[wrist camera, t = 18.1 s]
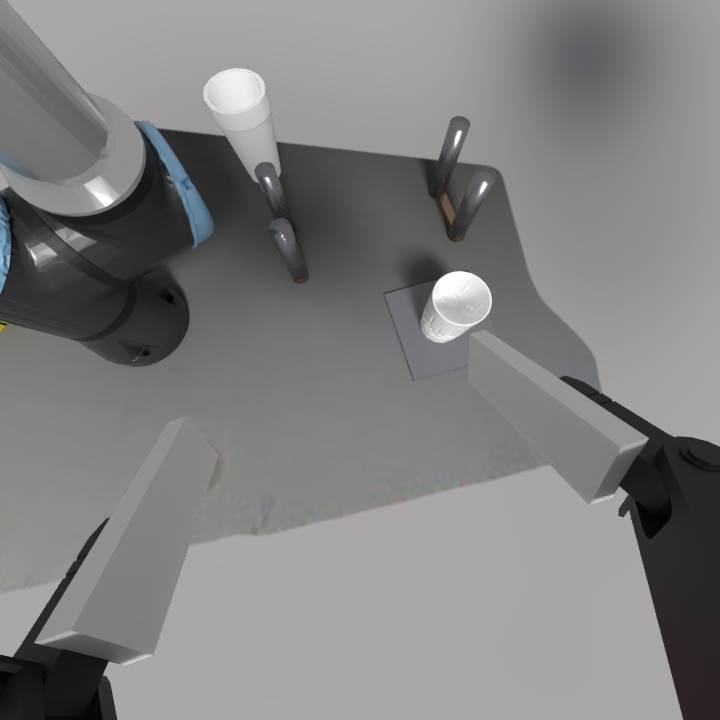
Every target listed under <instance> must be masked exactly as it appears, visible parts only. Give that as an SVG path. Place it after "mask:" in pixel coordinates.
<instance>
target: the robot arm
mask: <svg viewBox="0 0 720 720" xmlns="http://www.w3.org/2000/svg"><path fill="white" fill-rule="evenodd" d="M0 170H1V172H2V174H3V176H4V178H5V180H6V181H7V183H8V184H9V187H8V188H5V189H4V190H1V191H0V321H2V322H6V323H10V324H14V325H18V326H22V327H25V328H29V329H33V330H37V331H41V332H45V333H49V334H52V335H56V336H60V337H64V338H68V339H72V340H75V341H78V342H79V343H81V344H82V345H84V346H85V347H87V348H88V349H90V350H92V351H93V352H95V353H96V354H98V355H99V356H101V357H102V358H104V359H106V360H108V361H111V362H114V363H117V364H122V365H126V366H132V367H140V366H147V365H150V364H153V363H156V362H158V361H160V360H162V359H164V358H165V357H167V356H168V355H169V354H171V353H172V352H173V351H174V350H175V349H176V348H177V347H178V345H179V344H180V343H181V341H182V340H183V338H184V336H185V333H186V331H187V327H188V322H189V314H188V308H187V305H186V303H185V301H184V300H183V298H182V297H181V296H180V295H179V294H178V293H177V292H176V291H175V290H173V289H172V288H170V287H169V286H167V285H166V284H164V283H162V282H160V281H157V280H154V279H151V278H147V277H143V276H144V275H146V274H148V273H150V272H152V271H153V270H155V269H157V268H159V267H161V266H162V265H164V264H166V263H168V262H170V261H171V260H173V259H175V258H177V257H179V256H180V255H182V254H184V253H186V252H188V251H189V250H191V249H195V248H196V247H197V245H198V244H199V243H200V242H202V241H203V240H205V239H206V238H208V237H209V236H211V235H212V233H213V230H214V223H213V220H212V217H211V215H210V213H209V211H208V209H207V207H206V205H205V203H204V202H203V200H202V198H201V196H200V195H199V193H198V191H197V190H196V188H195V186H194V185H193V184H192V183H191V181H190V178H189V177H188V175H187V174H186V172H185V170H184V168H183V166H182V165H181V163H180V162H179V160H178V159H177V157H176V156H175V154H174V152H173V151H172V149H171V148H170V147H169V145H168V144H167V142H166V141H165V139H164V138H163V137H162V135H161V134H160V133H159V131H158V130H157V129H156V128H155V126H154V125H152V124H151V123H150V122H148V121H141V122H139V121H134V122H133V121H132V120H131V119H130V118H129V116H128V115H127V114H125V113H124V112H123V111H122V110H121V109H120V108H118V107H117V106H116V105H115V104H113V103H111V102H110V101H108V100H106V99H104V98H101V97H99V96H96V95H93V94H90V93H86V92H85V91H84V90H83V88H82V87H81V86H80V85H79V84H78V83H77V82H76V80H75V79H74V78H73V77H72V76H71V75H70V73H69V72H68V71H67V70H66V69H65V68H64V66H63V65H62V64H61V63H60V62H59V61H58V59H57V58H56V57H55V56H54V55H53V54H52V53H51V51H50V50H49V49H48V48H47V47H46V45H45V44H44V43H43V42H42V41H41V40H40V39H39V38H38V36H37V35H36V34H35V33H34V32H33V30H32V29H31V28H30V27H29V26H28V25H27V23H26V22H25V21H24V20H23V19H22V18H21V16H20V15H19V14H18V13H17V12H16V11H15V10H14V8H13V7H12V6H11V5H10V4H9V3H8V2H7V0H0ZM468 381H469V382H470V383H471V384H472V385H473V386H474V387H475V388H476V389H477V390H478V391H479V392H480V393H481V394H482V395H483V396H484V397H485V398H486V399H487V400H488V401H489V402H490V403H491V404H492V405H493V406H494V407H495V408H496V409H497V410H498V411H499V413H500V414H501V415H502V416H503V417H504V418H505V419H506V420H507V421H508V422H509V423H510V424H511V425H512V426H513V427H514V428H515V429H516V430H517V431H518V432H519V433H520V434H521V435H522V436H523V437H524V438H525V439H526V440H527V441H528V442H529V443H530V444H531V445H532V446H533V447H534V449H535V450H536V451H537V452H538V453H539V454H540V455H541V456H542V457H543V458H544V459H545V460H546V461H547V462H548V463H549V464H550V465H551V466H552V467H553V468H554V469H555V470H556V471H557V472H558V473H559V474H560V475H561V476H562V477H563V478H564V479H565V480H566V481H567V482H568V484H570V486H571V487H572V488H573V489H574V490H575V491H576V492H577V493H578V494H579V495H580V496H581V497H582V498H583V499H584V500H585V501H586V502H587V503H588V504H589V505H591V504H594V503H597V502H600V501H603V500H605V499H609V498H611V497H613V495H614V493H615V492H616V490H617V489H618V487H619V486H620V487H621V488H622V489H623V490H625V491H626V492H627V493H628V494H629V495H628V496H627V498H626V499H625V501H624V502H623V504H622V505H621V507H620V508H619V516H621V517H624V516H625V514H626V513H627V512H628V510H629V511H630V515H631V520H632V523H633V526H634V530H635V534H636V538H637V542H638V546H639V550H640V554H641V558H642V562H643V565H644V569H645V573H646V577H647V581H648V584H649V589H650V593H651V596H652V600H653V604H654V608H655V612H656V616H657V620H658V624H659V627H660V631H661V635H662V639H663V643H664V647H665V650H666V654H667V658H668V662H669V666H670V670H671V674H672V677H673V682H674V685H675V689H676V693H677V697H678V701H679V704H680V709H681V713H682V717H683V720H720V447H719V446H717V445H714V444H712V443H710V442H708V441H704V440H700V439H696V438H692V437H679V436H678V437H673V436H671V435H669V434H667V433H665V432H664V431H662V430H660V429H659V428H657V427H656V426H654V425H652V424H651V423H649V422H648V421H646V420H644V419H643V418H641V417H639V416H638V415H636V414H635V413H633V412H631V411H630V410H628V409H626V408H625V407H623V406H621V405H620V404H618V403H617V402H613V401H612V399H610V398H609V397H607V396H605V395H604V394H600V393H599V391H597V390H596V389H594V388H592V387H591V386H589V385H588V384H586V383H584V382H582V381H579V380H576V379H574V378H571V377H568V376H563V377H560V378H557V377H556V376H554V375H553V374H551V373H550V372H548V371H547V370H545V369H544V368H542V367H541V366H539V365H538V364H536V363H535V362H533V361H532V360H530V359H529V358H527V357H526V356H524V355H523V354H521V353H520V352H518V351H516V350H515V349H513V348H512V347H510V346H509V345H507V344H506V343H504V342H503V341H501V340H500V339H498V338H497V337H495V336H494V335H492V334H491V333H489V332H488V331H486V330H482V331H478V332H475V333H471V334H470V335H469V366H468ZM217 459H218V455H217V453H216V452H215V451H214V450H213V449H212V447H211V446H210V445H209V444H208V442H207V441H206V440H205V439H204V437H203V436H202V435H201V434H200V433H199V431H198V430H197V429H196V428H195V426H194V425H193V424H192V423H191V422H190V420H189V419H188V418H187V417H183V418H180V419H176V420H173V421H169V422H168V424H167V425H166V427H165V429H164V430H163V432H162V433H161V435H160V437H159V438H158V440H157V442H156V443H155V445H154V447H153V448H152V450H151V451H150V453H149V455H148V456H147V458H146V460H145V461H144V463H143V465H142V466H141V468H140V470H139V471H138V473H137V474H136V476H135V478H134V479H133V481H132V483H131V484H130V486H129V488H128V489H127V491H126V493H125V494H124V496H123V497H122V499H121V501H120V502H119V504H118V506H117V507H116V509H115V511H114V512H113V514H112V516H111V517H110V518H107V519H106V520H105V521H104V522H103V523H102V524H101V525H100V526H99V527H98V528H97V530H96V531H95V532H94V533H93V534H92V535H91V536H90V537H89V539H88V540H87V542H86V544H85V545H84V547H83V548H82V550H81V551H80V553H79V555H78V556H77V560H76V561H74V562H73V564H72V566H71V567H70V569H69V570H68V572H67V573H66V578H65V579H63V580H62V581H61V583H60V584H59V586H58V588H57V589H56V591H55V592H54V594H53V595H52V597H51V599H50V600H49V602H48V603H47V605H46V606H45V608H44V610H43V611H42V613H41V614H40V616H39V618H38V619H37V621H36V622H35V624H34V625H33V627H32V628H31V630H30V632H29V633H28V635H27V636H26V638H25V640H24V641H23V643H22V644H21V646H20V648H19V649H18V650H17V652H16V653H15V655H14V656H13V657H9V656H4V655H0V720H117V716H116V711H115V705H114V700H113V695H112V689H111V684H110V682H109V680H108V678H107V677H106V676H103V673H104V671H105V669H106V666H107V664H108V662H113V663H117V664H121V665H127V664H130V663H133V662H136V661H139V660H141V659H144V658H147V657H150V656H153V655H154V652H155V649H156V646H157V643H158V640H159V636H160V633H161V630H162V627H163V624H164V621H165V618H166V615H167V612H168V609H169V606H170V603H171V600H172V596H173V594H174V590H175V587H176V584H177V581H178V578H179V575H180V572H181V569H182V566H183V562H184V560H185V557H186V553H187V550H188V548H189V544H190V541H191V538H192V535H193V532H194V529H195V526H196V523H197V520H198V517H199V514H200V511H201V508H202V505H203V502H204V498H205V495H206V492H207V489H208V486H209V483H210V480H211V477H212V474H213V471H214V468H215V465H216V462H217Z"/></svg>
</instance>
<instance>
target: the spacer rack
mask: <svg viewBox="0 0 720 720" xmlns="http://www.w3.org/2000/svg"><path fill="white" fill-rule="evenodd" d="M469 127H470V122H469V120H468V119H467V118H465V117H461V116H457V117H454V118H453V119H452V120H451V121H450V124H449V127H448V131H447V134H446V138H445V141H444V144H443V147H442V151H441V154H440V157H439V161H438V164H437V167H436V171H435V174H434V177H433V180H432V184H431V187H430V190H429V194H430V196H431V197H433V198H435V199H436V201H437V204H438V206H439V208H440V210H441V213H442V215H443V217H444V220H445V222H446V224H447V227H448V229H449V230H448V233H447V235H448V238H449V239H450V240H452V241H454V242H457V241H461V240H463V238H464V236H465V233H466V231H467V229H468V228H469V226H470V224H471V222H472V221H473V219H474V217H475V215H476V214H477V212H478V210H479V208H480V206H481V205H482V203H483V201H484V199H485V198H486V196H487V194H488V192H489V191H490V189H491V187H492V185H493V184H494V182H495V180H496V173H495V171H494V170H492V169H491V168H488V167H481V168H479V169H478V170H477V171H476V173H475V175H474V177H473V179H472V181H471V183H470V186H469V188H468V190H467V192H466V194H465V196H464V198H463V201H462V203H461V205H460V207H459V209H458V211H457V213H456V215H455V213H454V210H453V208H452V206H451V204H450V201H449V199H448V197H447V195H446V192H445V191H446V189H447V186H448V183H449V180H450V178H451V175H452V172H453V170H454V167H455V164H456V162H457V159H458V156H459V154H460V151H461V148H462V145H463V143H464V140H465V137H466V135H467V132H468V130H469ZM254 172H255V175H256V177H257V180H258V182H259V184H260V187H261V189H262V191H263V194H264V196H265V198H266V200H267V203H268V205H269V207H270V210H271V212H272V214H273V217H274V219H275V220H273V221H272V222H271V223H270V225H269V232H270V234H271V236H272V238H273V240H274V242H275V244H276V246H277V248H278V250H279V252H280V254H281V256H282V258H283V260H284V262H285V264H286V266H287V268H288V270H289V272H290V274H291V276H292V278H293V280H294V281H295V282H296V283H298V284H300V283H304V282H307V279H308V277H309V274H308V271H307V268H306V266H305V263H304V260H303V257H302V254H301V252H300V249H299V246H298V243H297V241H296V238H295V235H294V234H295V232H296V228H295V225H294V222H293V219H292V216H291V213H290V210H289V207H288V204H287V201H286V198H285V195H284V193H283V190H282V187H281V184H280V181H279V178H278V175H277V172H276V169H275V167H274V165H273V164H272V163H270V162H262V163H259V164H258V165H257V166H256V167H255V170H254Z"/></svg>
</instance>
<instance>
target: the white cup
mask: <svg viewBox="0 0 720 720" xmlns="http://www.w3.org/2000/svg"><path fill="white" fill-rule="evenodd" d="M491 304H492V298H491V293H490V290H489V288H488V287H487V285H486V284H485V283H484V282H483V281H482V280H481V279H480V278H479V277H477V276H476V275H474V274H471V273H468V272H463V271H456V272H451V273H448V274H446V275H444V276H443V277H441V278H440V279H439V280H438V281H437V283H436V284H435V286H434V288H433V290H432V292H431V295H430V297H429V299H428V301H427V304H426V306H425V308H424V311H423V314H422V317H421V320H420V325H421V330H422V332H423V333H424V335H425V336H426V337H427V338H428V339H430V340H432V341H433V342H438V343H445V342H448V341H451V340H453V339H454V338H456V337H458V336H460V335H461V334H463V333H464V332H466V331H467V330H469V329H470V328H472V327H473V326H474V325H476V324H477V323H479V322H480V321H482V320H483V319H484V318H485V317H486V316H487V315H488V313H489V311H490V309H491Z"/></svg>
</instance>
